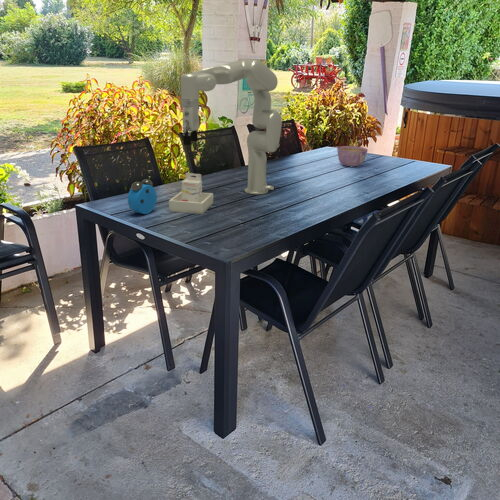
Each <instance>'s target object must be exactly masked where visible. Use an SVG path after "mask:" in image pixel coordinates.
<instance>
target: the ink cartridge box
mask: <svg viewBox="0 0 500 500" xmlns="http://www.w3.org/2000/svg"><path fill="white" fill-rule="evenodd" d="M181 191H182V201H186V202H198V203H201V202H202V193H203V180H202V174H200V173H194V172H192V173H191V172H185V179H183V180H181Z"/></svg>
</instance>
